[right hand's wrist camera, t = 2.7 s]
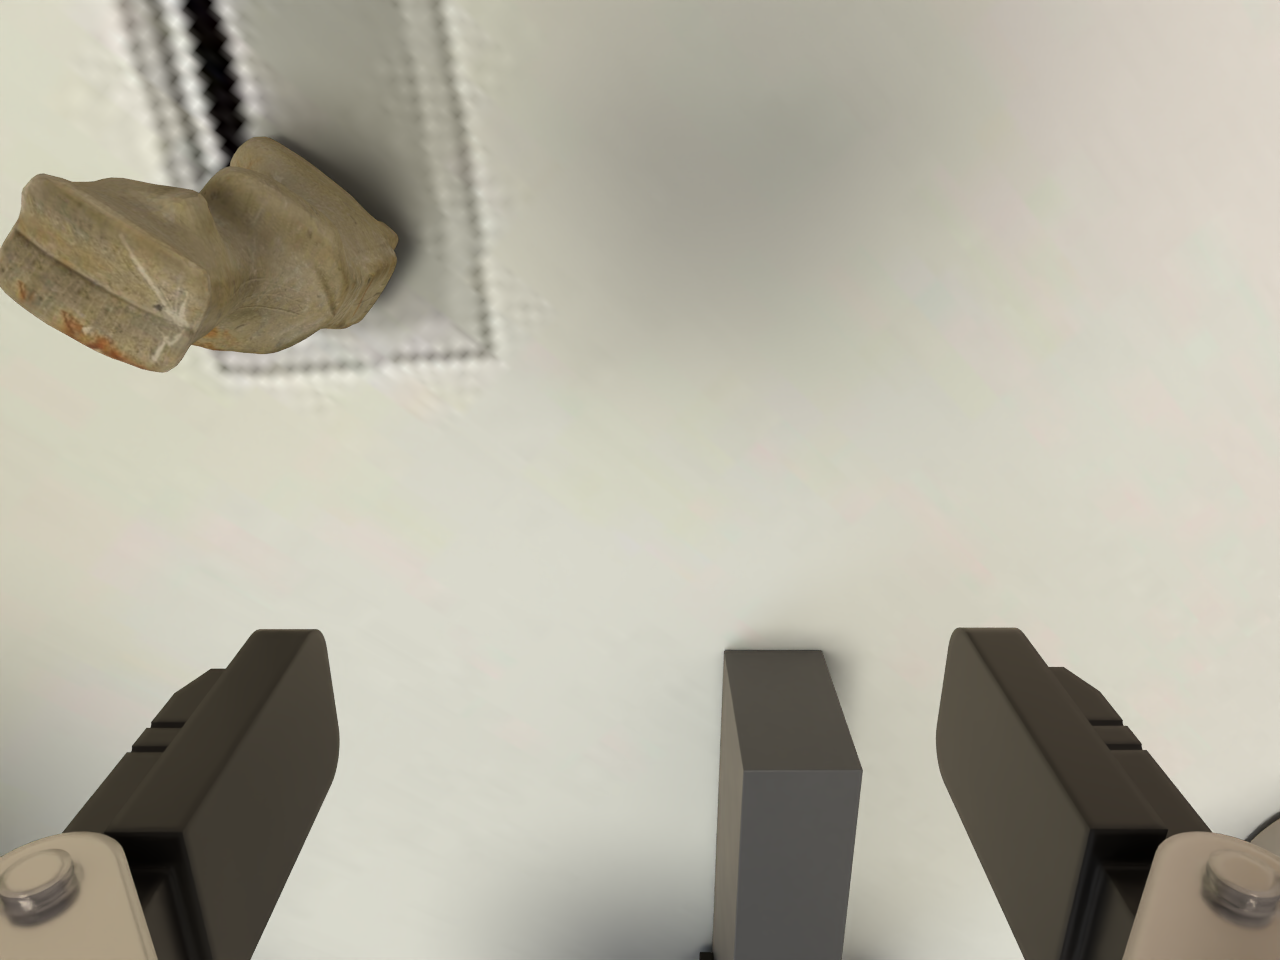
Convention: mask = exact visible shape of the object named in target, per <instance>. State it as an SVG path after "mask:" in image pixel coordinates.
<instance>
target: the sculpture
mask: <svg viewBox="0 0 1280 960" xmlns="http://www.w3.org/2000/svg"><path fill="white" fill-rule="evenodd" d="M397 243H398V236H397V234H396V233H395V232H394V231H393V230H392V229H391V228H389V227H388V226H387V225H386V224H385V223H383V222H381V221H377V220H376V219H374V218H373V217H372V216H371V215H370V214H369V213H368V212H367V211H366V210H365V209H364V208H363V207H362V206H361V205H360V204H359V203H358V202H357V201H356V200H355V199H354V198H353V197H352V196H351V195H350V194H349V193H347V192H346V191H345V190H344V189H343V188H341V187H340V186H339V185H338V184H336V183H335V182H334V181H333V180H331V179H330V178H329V177H327V176H326V175H325V174H324V173H322V172H321V171H320V170H319V169H317V168H316V167H315V166H313V165H312V164H311V163H309V162H308V161H307V160H305V159H304V158H302V157H301V156H299V155H298V154H296V153H294V152H293V151H291V150H290V149H288V148H286V147H285V146H283V145H282V144H280V143H278V142H276V141H275V140H273V139H271V138H268V137H253V138H251V139H249V140H248V141H246V142H245V143H244V144H243V145H241V146H240V147H239V148H238V150H237V151H236V153H235V154H234V156H233V158H232V160H231V163H230V166H229V167H226V168H223V169H222V170H220V171H219V172H217V173H216V174H215V175H214V176H213V177H212V178H211V179H210V180H209V181H208V183H207V184H206V185H205V186H204V188H203V189H202V190H201V191H200V193H198V192H196V191H193V190H189V189H183V188H177V187H170V186H163V185H156V184H150V183H145V182H140V181H135V180H130V179H125V178H106V179H101V180H98V181H94V182H71V181H68V180H66V179H63V178H59V177H55V176H51V175H47V174H38V175H36V176H34V177H33V178H32V179H31V180H30V181H29V182H28V183H27V185H26V186H25V187H24V188H23V191H22V200H21V211H20V215H19V218H18V220H17V222H16V223H15V225H14V226H13V228H12V230H11V231H10V233H9V234H8V236H7V238H6V239H5V241H4V243H3V245H2V247H1V249H0V287H1V288H2V289H3V290H4V292H5V293H6V294H7V295H8V296H10V297H11V298H12V299H13V300H14V301H16V302H17V303H18V304H19V305H21V306H22V307H23V308H25V309H26V310H27V311H29V312H30V313H32V314H33V315H34V316H36V317H37V318H39V319H40V320H42V321H43V322H45V323H46V324H48V325H50V326H52V327H53V328H55V329H57V330H59V331H61V332H62V333H64V334H66V335H68V336H70V337H71V338H73V339H75V340H77V341H78V342H80V343H82V344H84V345H86V346H87V347H89V348H91V349H93V350H95V351H97V352H99V353H102V354H104V355H106V356H109V357H111V358H113V359H116V360H119V361H122V362H125V363H128V364H130V365H133V366H136V367H138V368H141V369H145V370H149V371H155V372H168V371H169V370H171V369H172V368H174V367H175V366H177V365H178V363H179V362H180V361H181V360H182V358H183V357H184V355H185V353H186V352H187V350H188V348H189V347H190V345H195V346H200V347H204V348H207V349H211V350H219V351H235V352H243V353H256V354H268V353H275V352H278V351H281V350H283V349H286V348H289V347H291V346H293V345H295V344H297V343H299V342H301V341H302V340H304V339H306V338H308V337H309V336H311V335H312V334H314V333H315V332H317V331H318V330H320V329H324V328H327V329H344V328H347V327H349V326H351V325H353V324H356V323H358V322H360V321H361V320H362V319H363V318H364V317H365V315H366V314H367V313H368V311H369V310H370V309H371V307H372V306H373V305H374V303H375V302H376V300H377V299H378V298H379V296H380V294H381V293H382V291H383V290H384V288H385V286H386V285H387V283H388V281H389V279H390V277H391V275H392V274H393V272H394V269H395V266H396V263H397V258H396V254H395V252H394V249H395V248H396V246H397Z"/></svg>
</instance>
